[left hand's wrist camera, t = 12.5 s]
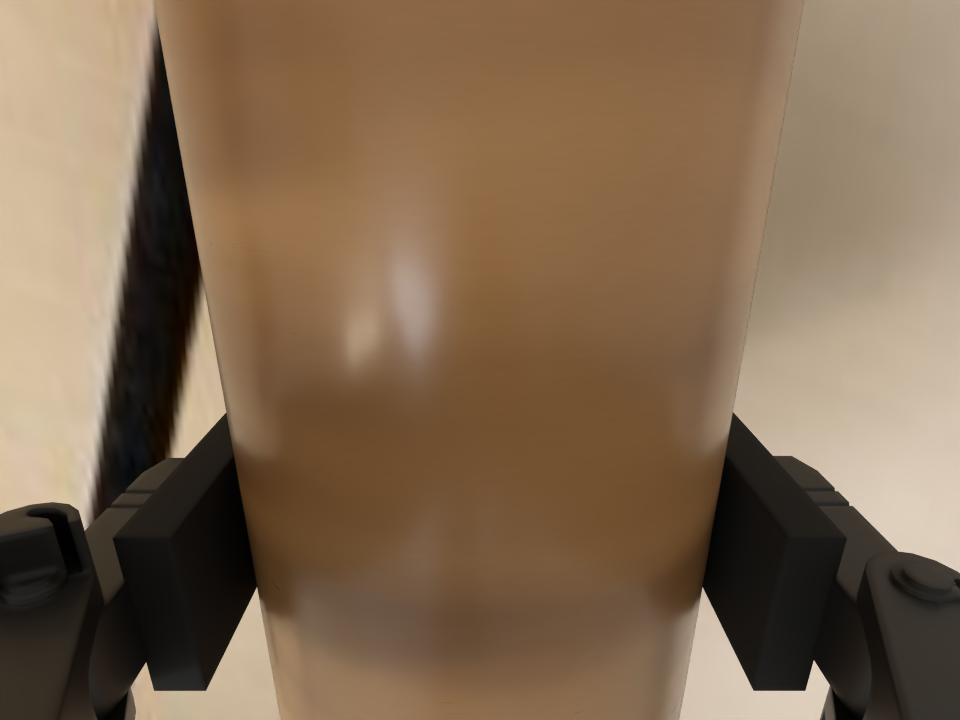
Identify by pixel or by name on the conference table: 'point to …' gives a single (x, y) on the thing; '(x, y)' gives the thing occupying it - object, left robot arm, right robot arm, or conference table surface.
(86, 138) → the conference table surface
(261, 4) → the rod
